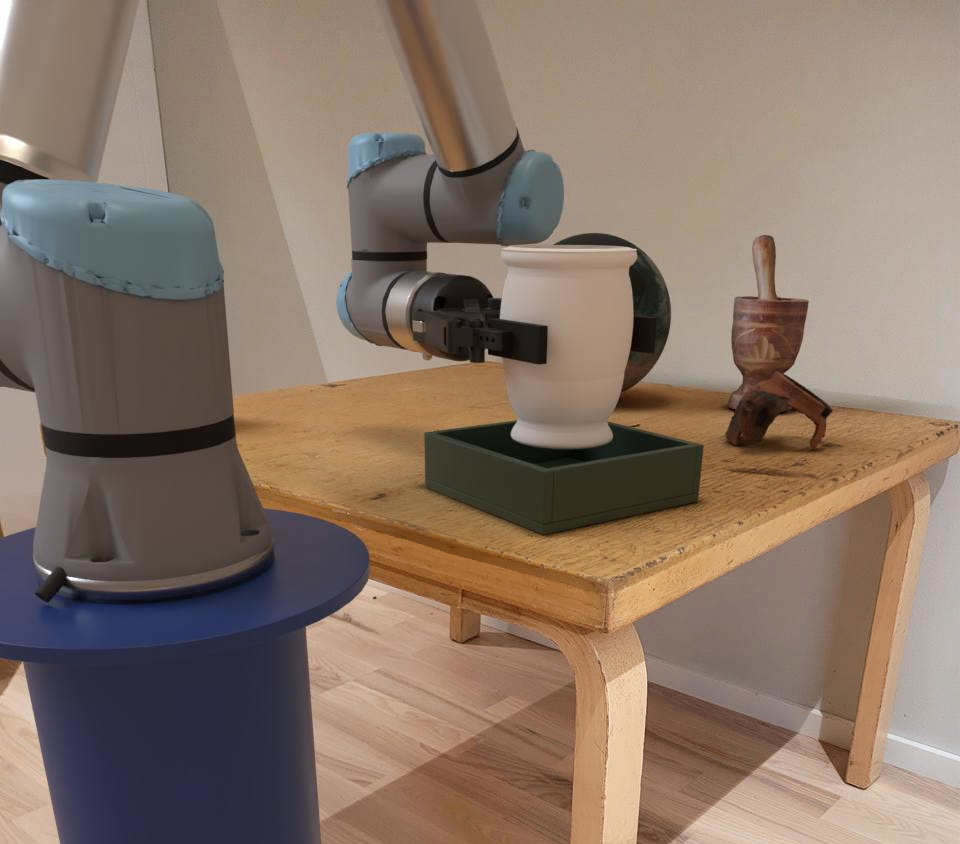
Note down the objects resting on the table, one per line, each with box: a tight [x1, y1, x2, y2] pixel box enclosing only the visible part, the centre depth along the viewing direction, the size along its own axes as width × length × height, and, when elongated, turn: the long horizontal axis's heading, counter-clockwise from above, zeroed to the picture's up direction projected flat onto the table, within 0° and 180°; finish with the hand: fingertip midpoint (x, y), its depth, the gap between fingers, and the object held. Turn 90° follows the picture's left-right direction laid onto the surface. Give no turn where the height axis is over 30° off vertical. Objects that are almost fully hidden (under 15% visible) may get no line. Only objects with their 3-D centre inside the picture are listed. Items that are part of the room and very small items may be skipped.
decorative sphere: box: [552, 232, 672, 394], centre depth 121 cm, size 20×20×20 cm
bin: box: [423, 419, 705, 536], centre depth 81 cm, size 17×17×5 cm
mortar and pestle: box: [727, 234, 810, 413], centre depth 117 cm, size 12×9×20 cm
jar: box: [500, 244, 637, 449], centre depth 77 cm, size 11×10×15 cm
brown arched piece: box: [724, 371, 834, 450], centre depth 99 cm, size 12×10×8 cm
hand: (600, 340), depth 74 cm, fingers closed on jar, 10 cm apart
